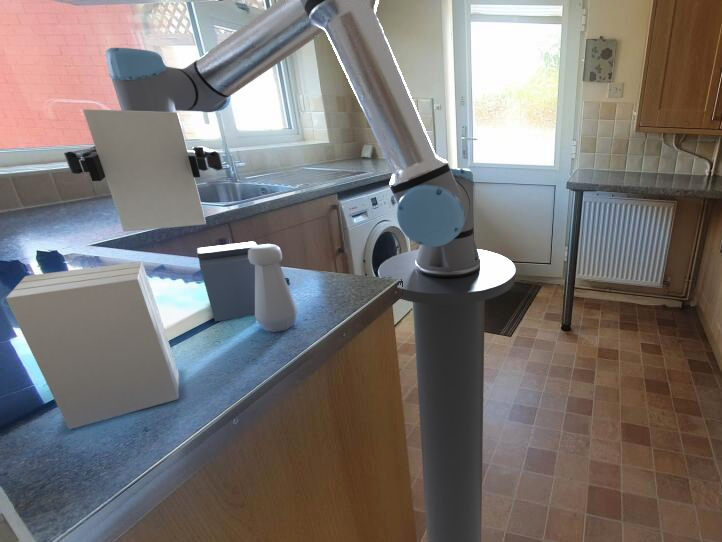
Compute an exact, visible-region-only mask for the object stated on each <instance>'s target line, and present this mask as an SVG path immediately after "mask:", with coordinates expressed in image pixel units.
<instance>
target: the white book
mask: <svg viewBox="0 0 722 542" xmlns="http://www.w3.org/2000/svg"><path fill="white" fill-rule="evenodd" d="M82 113H83V114H84V117H85V121H86V124H87V127H88V129H89V133H90V136H91V138H92V143H93V146H95V148H96V151H97V153H98V156H99V159H100V162H101V165H102V168H103V171H104V174H105V180H106V183H107V186H108V189H109V192H110V195H111V198H112V201H113V204H114V207H115V209H116V213H117V216H118V219H119V221H120V226H121V227H122V230H123V232H124V233H126V232H136V231H138V232H139V231H148V230H159V229H170V228H181V227H190V226H192V227H194V226H205V225H207V221H206V220H207V219H206V217H205V213H204V209H203V205H202V201H201V200H202V199H201V197H200V192H199V189H198V186H197V181H196V177H193V174H192V170H191V166H190V162H189V158H188V150H189V149H188V145H187V142H186V138H185V133H184V130H183V125H182V121H181V118H180V114H179V111H178V112H177V111H176V112H153V111H123V110H121V109H119V110H118V109H91V108H90V109H89V108H86V109H85V108H84V109H82Z"/></svg>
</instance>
